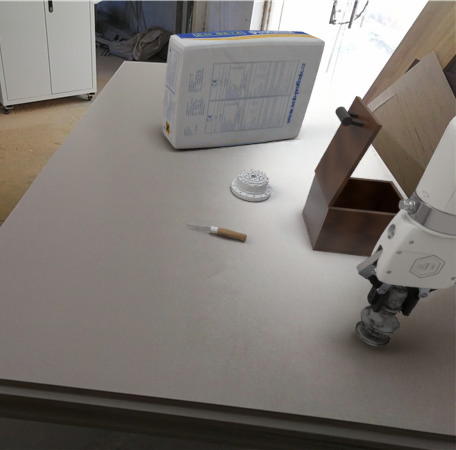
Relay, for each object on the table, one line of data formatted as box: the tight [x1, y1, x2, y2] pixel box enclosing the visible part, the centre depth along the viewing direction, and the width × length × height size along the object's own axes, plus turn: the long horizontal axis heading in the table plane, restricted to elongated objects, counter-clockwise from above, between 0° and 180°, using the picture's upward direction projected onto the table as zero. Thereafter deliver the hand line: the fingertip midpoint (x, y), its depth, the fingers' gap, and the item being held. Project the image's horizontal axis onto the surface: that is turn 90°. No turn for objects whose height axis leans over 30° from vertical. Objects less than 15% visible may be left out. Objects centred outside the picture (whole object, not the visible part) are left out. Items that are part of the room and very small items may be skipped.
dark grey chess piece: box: [354, 285, 407, 348], centre depth 63 cm, size 6×6×12 cm
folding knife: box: [184, 222, 248, 243], centre depth 87 cm, size 14×2×2 cm, turn 72°
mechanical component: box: [230, 168, 273, 202], centre depth 101 cm, size 10×4×10 cm
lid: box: [313, 95, 384, 207], centre depth 78 cm, size 17×14×5 cm
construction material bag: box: [162, 29, 326, 150], centre depth 117 cm, size 43×12×30 cm, turn 108°
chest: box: [301, 173, 405, 258], centre depth 86 cm, size 17×14×11 cm
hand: (387, 306), depth 62 cm, fingers closed on dark grey chess piece, 3 cm apart
